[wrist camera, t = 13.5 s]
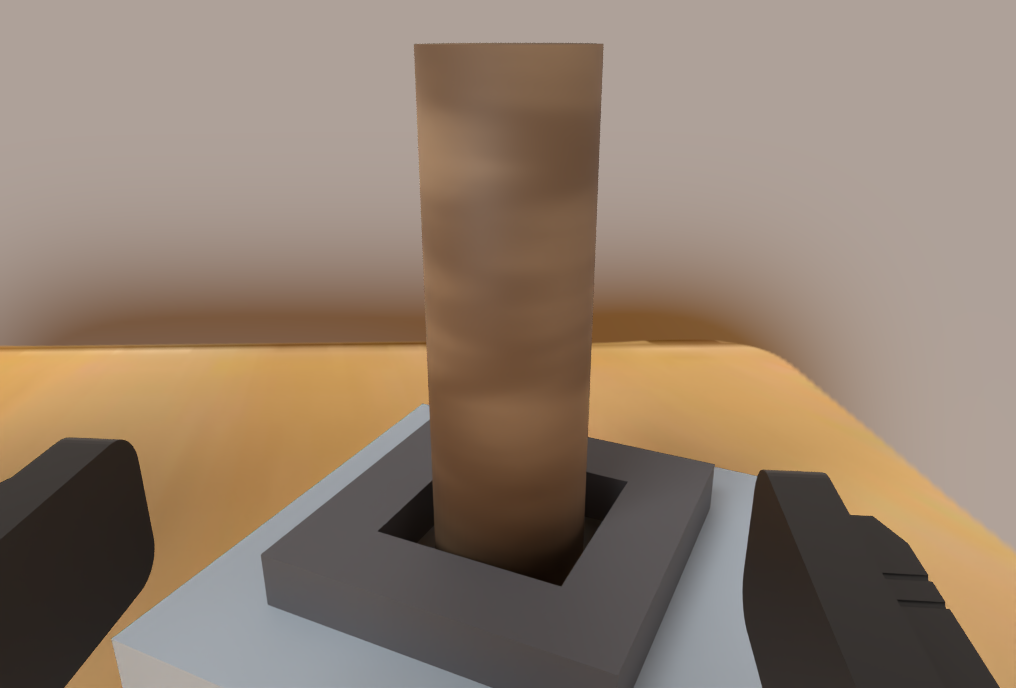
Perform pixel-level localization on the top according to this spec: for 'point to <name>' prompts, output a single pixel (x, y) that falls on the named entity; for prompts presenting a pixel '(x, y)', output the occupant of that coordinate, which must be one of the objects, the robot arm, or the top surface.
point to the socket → (465, 589)
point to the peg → (509, 294)
